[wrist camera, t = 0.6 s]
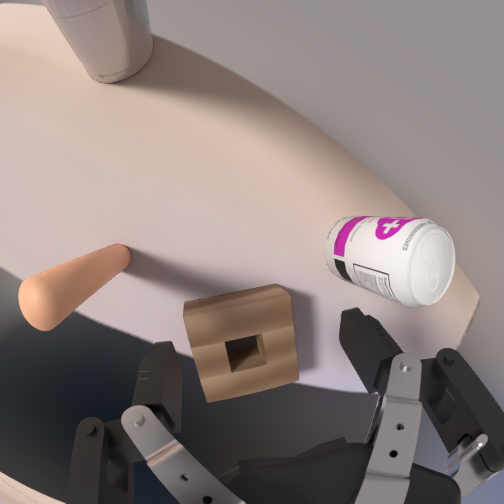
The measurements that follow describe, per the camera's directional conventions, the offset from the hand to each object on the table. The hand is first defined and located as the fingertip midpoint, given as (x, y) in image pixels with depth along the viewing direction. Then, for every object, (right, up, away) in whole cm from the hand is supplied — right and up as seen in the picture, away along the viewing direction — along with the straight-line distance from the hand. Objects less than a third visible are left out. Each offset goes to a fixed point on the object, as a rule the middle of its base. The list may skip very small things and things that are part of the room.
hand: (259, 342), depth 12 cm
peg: (-15, +4, +16) cm, 22 cm away
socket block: (-2, -6, +20) cm, 21 cm away
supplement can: (+12, +5, +22) cm, 26 cm away
